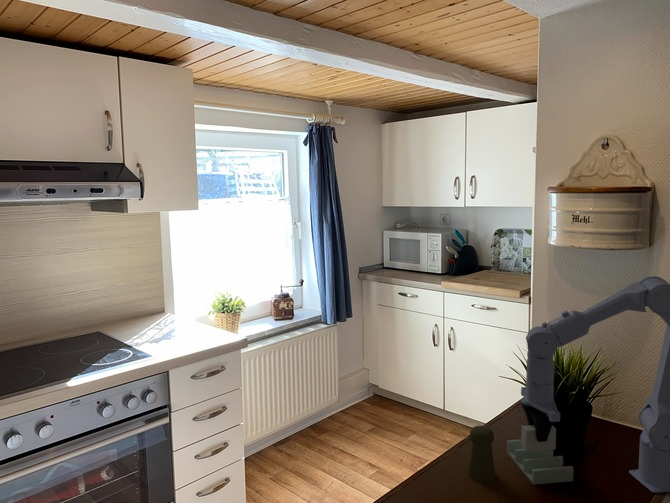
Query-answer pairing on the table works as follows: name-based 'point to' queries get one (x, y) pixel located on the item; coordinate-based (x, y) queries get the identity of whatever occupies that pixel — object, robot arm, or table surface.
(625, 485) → the table surface
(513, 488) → the table surface
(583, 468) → the table surface
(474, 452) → the dark green pepper mill
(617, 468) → the table surface
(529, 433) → the white rectangular block
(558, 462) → the rack
